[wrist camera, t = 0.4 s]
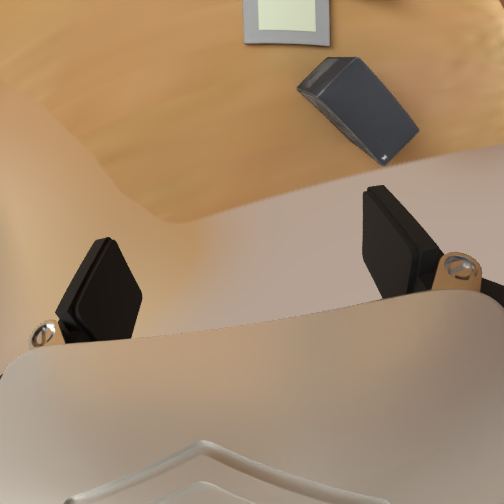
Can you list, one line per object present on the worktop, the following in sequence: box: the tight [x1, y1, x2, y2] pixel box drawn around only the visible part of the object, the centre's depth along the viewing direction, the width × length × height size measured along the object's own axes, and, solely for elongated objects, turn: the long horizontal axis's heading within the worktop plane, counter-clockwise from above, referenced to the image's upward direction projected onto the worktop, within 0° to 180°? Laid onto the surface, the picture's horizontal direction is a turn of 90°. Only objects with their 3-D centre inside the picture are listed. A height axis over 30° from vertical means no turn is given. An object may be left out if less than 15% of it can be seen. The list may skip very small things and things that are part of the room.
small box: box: [297, 57, 419, 167], centre depth 30 cm, size 11×6×10 cm, turn 50°
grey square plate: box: [243, 0, 330, 46], centre depth 27 cm, size 10×10×1 cm
